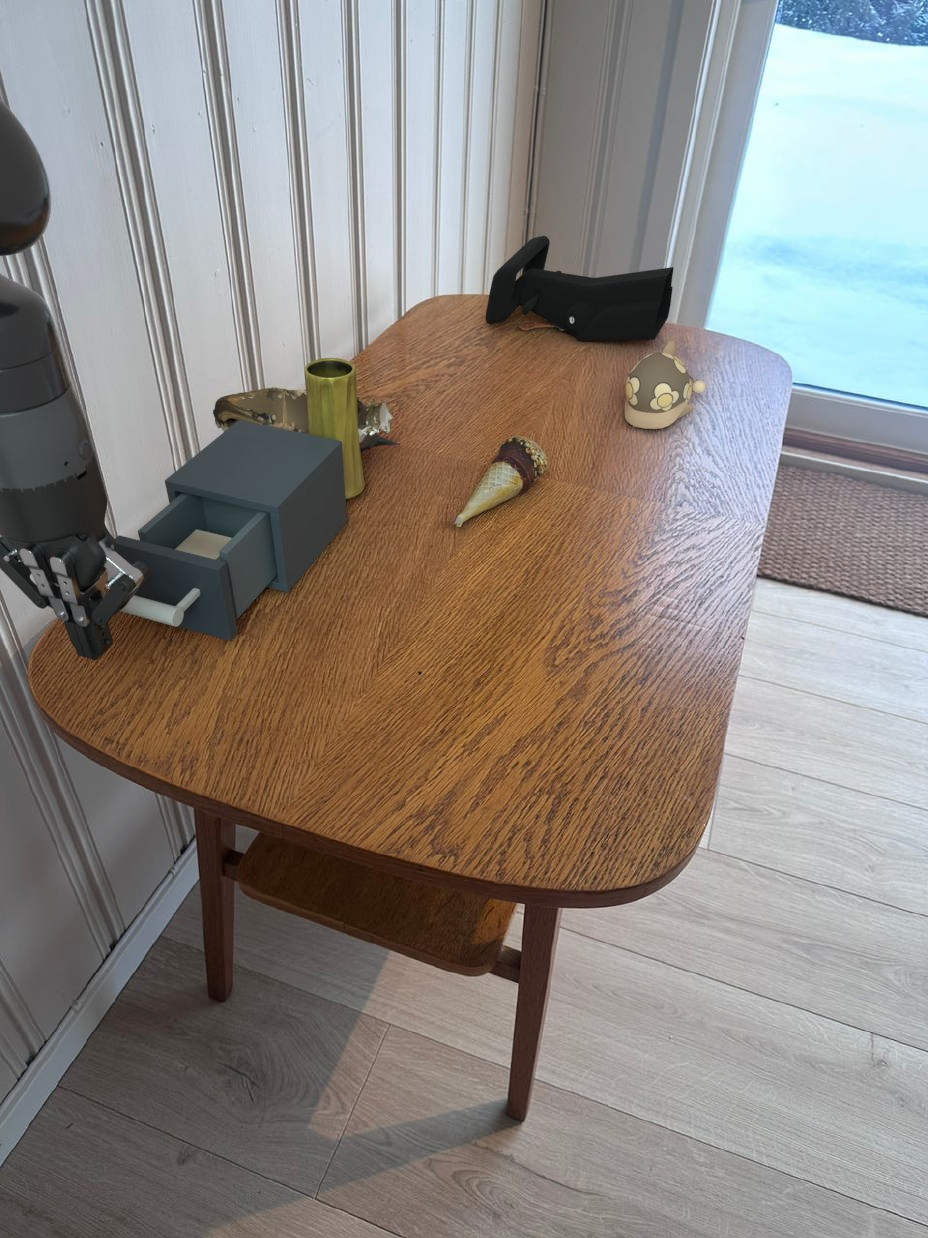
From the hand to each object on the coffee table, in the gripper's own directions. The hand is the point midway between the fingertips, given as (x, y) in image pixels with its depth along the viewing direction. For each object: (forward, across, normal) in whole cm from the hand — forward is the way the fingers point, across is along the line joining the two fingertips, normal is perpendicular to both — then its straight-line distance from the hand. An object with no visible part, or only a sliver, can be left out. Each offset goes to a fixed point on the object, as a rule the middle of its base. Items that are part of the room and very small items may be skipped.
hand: (95, 651), depth 68 cm
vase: (+7, +2, +38) cm, 39 cm away
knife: (+7, +13, +94) cm, 96 cm away
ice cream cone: (+6, +17, +36) cm, 40 cm away
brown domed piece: (+6, +33, +81) cm, 88 cm away
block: (+4, 0, +16) cm, 16 cm away
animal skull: (-4, -4, +38) cm, 38 cm away
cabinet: (+7, 0, +26) cm, 27 cm away
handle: (+8, +18, +96) cm, 98 cm away
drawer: (+6, 0, +14) cm, 15 cm away
